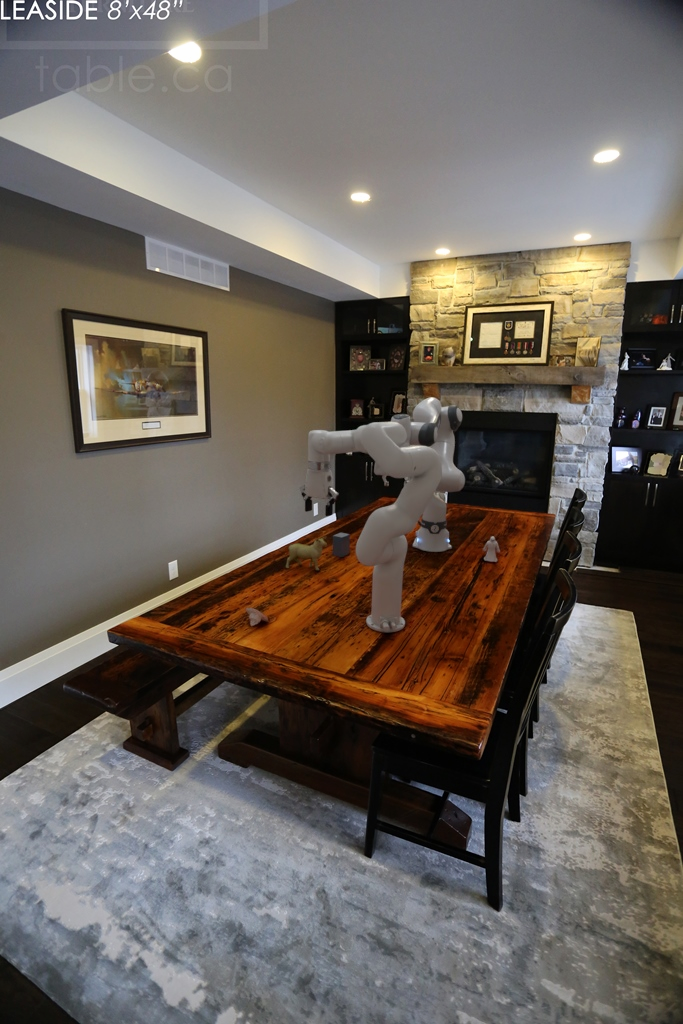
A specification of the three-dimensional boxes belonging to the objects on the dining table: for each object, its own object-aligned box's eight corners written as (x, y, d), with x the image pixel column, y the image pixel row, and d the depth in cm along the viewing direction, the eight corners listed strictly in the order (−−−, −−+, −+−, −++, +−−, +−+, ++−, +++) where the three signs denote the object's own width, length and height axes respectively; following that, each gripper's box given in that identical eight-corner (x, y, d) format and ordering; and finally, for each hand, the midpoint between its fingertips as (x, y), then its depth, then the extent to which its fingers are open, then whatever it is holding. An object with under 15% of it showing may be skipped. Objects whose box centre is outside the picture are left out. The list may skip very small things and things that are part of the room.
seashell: (251, 634, 162) (235, 615, 161) (262, 623, 165) (246, 604, 164) (262, 630, 156) (245, 610, 155) (273, 618, 159) (257, 599, 158)
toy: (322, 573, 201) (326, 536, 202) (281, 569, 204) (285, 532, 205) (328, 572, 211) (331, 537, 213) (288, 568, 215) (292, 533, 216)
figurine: (481, 562, 222) (483, 536, 219) (482, 556, 230) (484, 531, 227) (499, 564, 220) (501, 538, 217) (499, 558, 228) (501, 533, 225)
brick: (349, 553, 231) (349, 534, 228) (341, 557, 226) (341, 537, 223) (340, 551, 233) (340, 532, 231) (332, 555, 228) (332, 535, 226)
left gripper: (344, 467, 173) (344, 515, 177) (307, 462, 183) (307, 507, 187) (331, 470, 167) (330, 519, 171) (293, 464, 177) (293, 511, 182)
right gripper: (425, 454, 208) (423, 487, 211) (377, 451, 214) (375, 483, 217) (423, 456, 202) (420, 489, 205) (373, 453, 208) (372, 486, 211)
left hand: (318, 513), depth 179 cm, fingers open, 9 cm apart
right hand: (397, 486), depth 211 cm, fingers open, 8 cm apart
